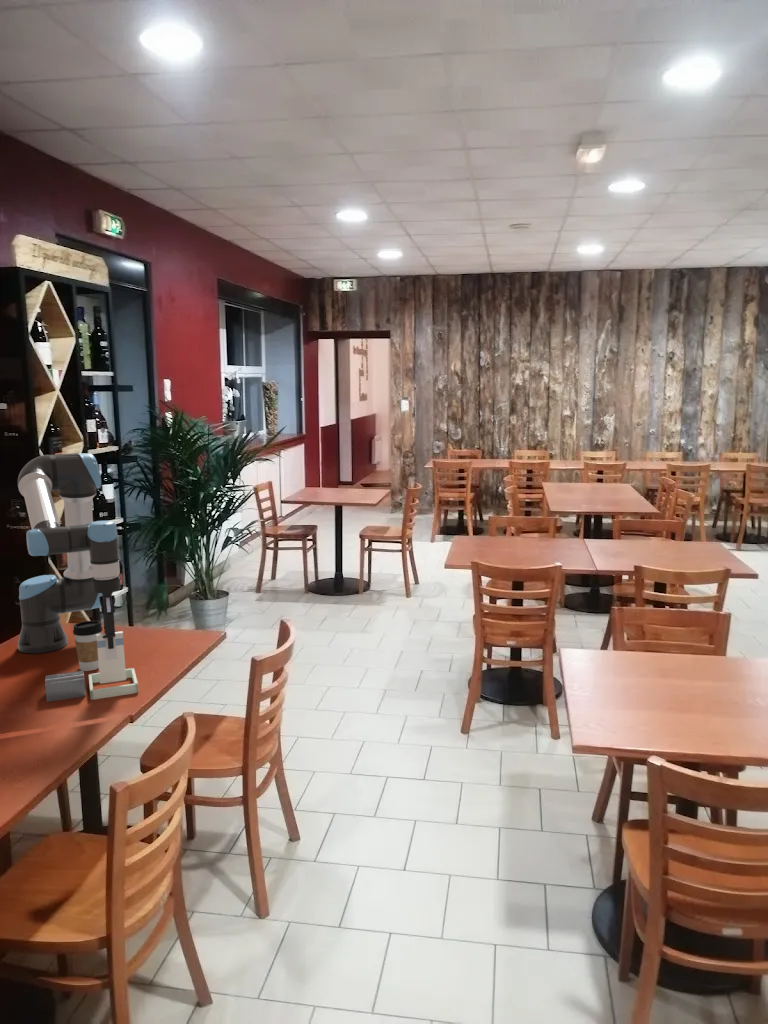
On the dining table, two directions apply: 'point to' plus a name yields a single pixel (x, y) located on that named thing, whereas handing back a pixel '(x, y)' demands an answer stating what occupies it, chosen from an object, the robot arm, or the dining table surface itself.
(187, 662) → the dining table surface
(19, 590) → the robot arm
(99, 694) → the tray
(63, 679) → the dispenser
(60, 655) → the dining table surface
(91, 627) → the coffee cup
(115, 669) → the white striped flat box
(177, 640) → the dining table surface
